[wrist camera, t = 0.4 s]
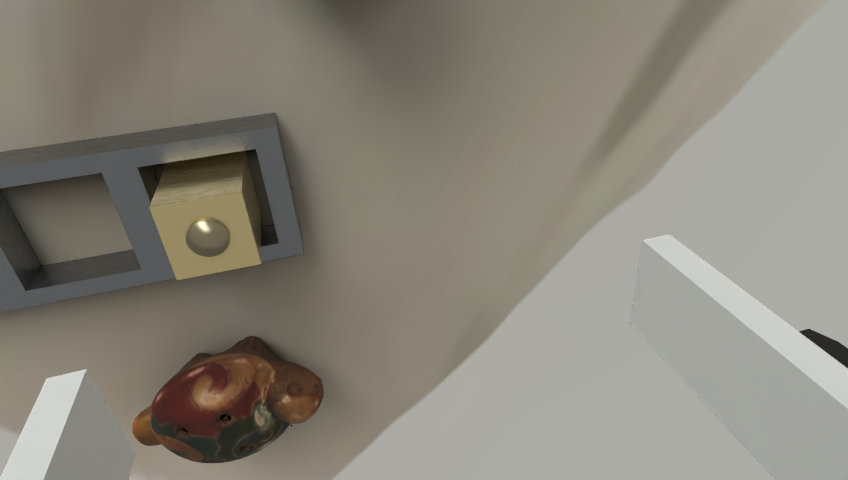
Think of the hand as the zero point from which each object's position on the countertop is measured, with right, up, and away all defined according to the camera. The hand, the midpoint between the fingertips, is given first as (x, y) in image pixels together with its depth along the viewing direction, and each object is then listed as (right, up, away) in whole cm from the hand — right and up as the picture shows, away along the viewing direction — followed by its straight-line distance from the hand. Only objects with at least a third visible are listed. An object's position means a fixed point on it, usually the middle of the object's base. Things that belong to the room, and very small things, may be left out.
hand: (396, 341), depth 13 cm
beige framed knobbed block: (-14, +6, +24) cm, 29 cm away
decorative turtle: (-16, -9, +33) cm, 37 cm away
